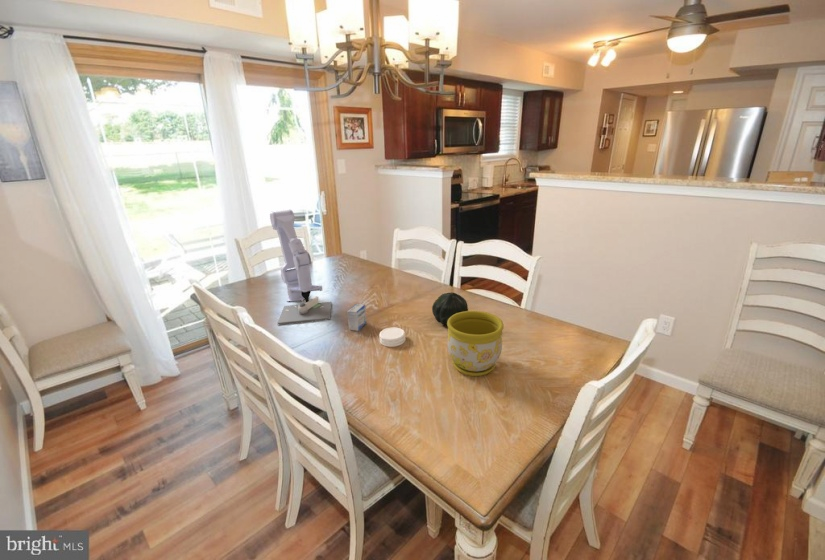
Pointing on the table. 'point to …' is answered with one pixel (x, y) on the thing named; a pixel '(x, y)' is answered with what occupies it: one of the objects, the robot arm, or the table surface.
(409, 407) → the table surface
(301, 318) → the dial base
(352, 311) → the medicine box
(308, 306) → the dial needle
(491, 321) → the flowerpot
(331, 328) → the table surface
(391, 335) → the coaster
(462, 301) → the squash
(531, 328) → the table surface
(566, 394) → the table surface
